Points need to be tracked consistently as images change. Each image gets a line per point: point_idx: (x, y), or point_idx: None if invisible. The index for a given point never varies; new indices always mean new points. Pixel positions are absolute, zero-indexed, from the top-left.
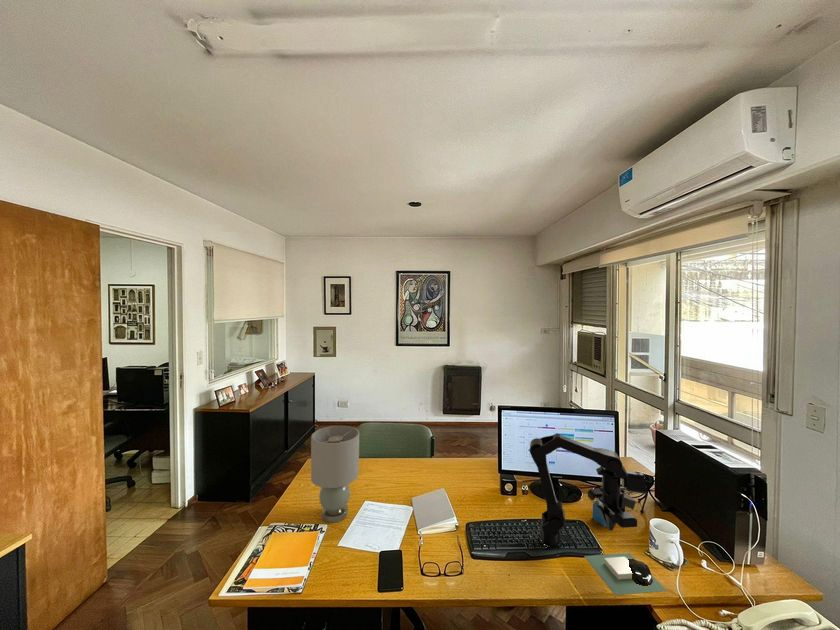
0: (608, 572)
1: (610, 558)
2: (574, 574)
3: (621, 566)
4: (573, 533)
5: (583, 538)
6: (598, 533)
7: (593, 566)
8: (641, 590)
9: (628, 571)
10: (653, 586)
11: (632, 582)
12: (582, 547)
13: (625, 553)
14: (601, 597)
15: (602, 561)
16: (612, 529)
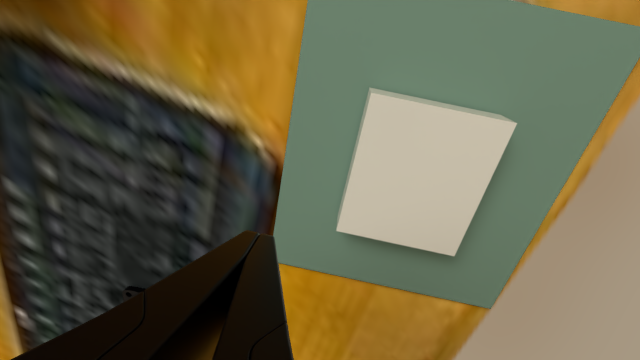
0: None
1: (351, 201)
2: (341, 348)
3: (424, 195)
4: (102, 178)
5: (143, 156)
6: (95, 14)
7: (336, 270)
8: (547, 185)
9: (469, 188)
10: (580, 92)
11: (490, 182)
12: (209, 214)
13: (310, 2)
14: (463, 345)
15: (323, 208)
16: (274, 247)
